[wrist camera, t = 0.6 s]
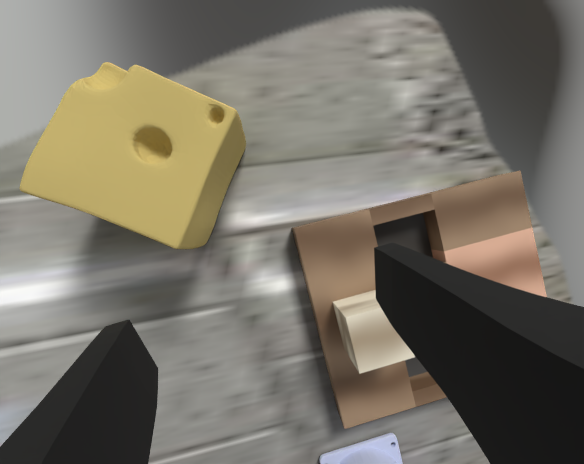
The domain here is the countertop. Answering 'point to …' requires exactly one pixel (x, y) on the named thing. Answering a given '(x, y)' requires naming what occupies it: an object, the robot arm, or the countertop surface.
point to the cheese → (139, 155)
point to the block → (368, 333)
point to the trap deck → (424, 239)
